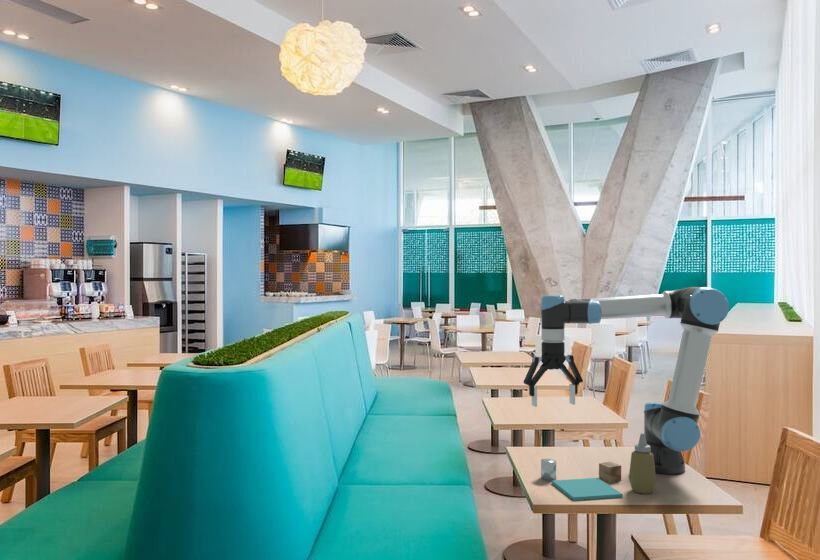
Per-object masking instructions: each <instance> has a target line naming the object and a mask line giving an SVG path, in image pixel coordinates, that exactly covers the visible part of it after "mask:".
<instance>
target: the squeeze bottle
mask: <svg viewBox="0 0 820 560" xmlns="http://www.w3.org/2000/svg"><path fill="white" fill-rule="evenodd" d="M650 451H651V446H650V445H647V442H646V438H645V434H644V433H640V436H639V441H638V443H635V444H634V450H633V451H632V452H631V456H630V467H629V474H628V480H629V483H630V486H631V489H632V491H634V492H635V493H638V494H651V493H653V491H654V489H655V486H656V482H657V476H656V475H657V473H655V463H654V455H653V454H652V453H651V452H650Z"/></svg>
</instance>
